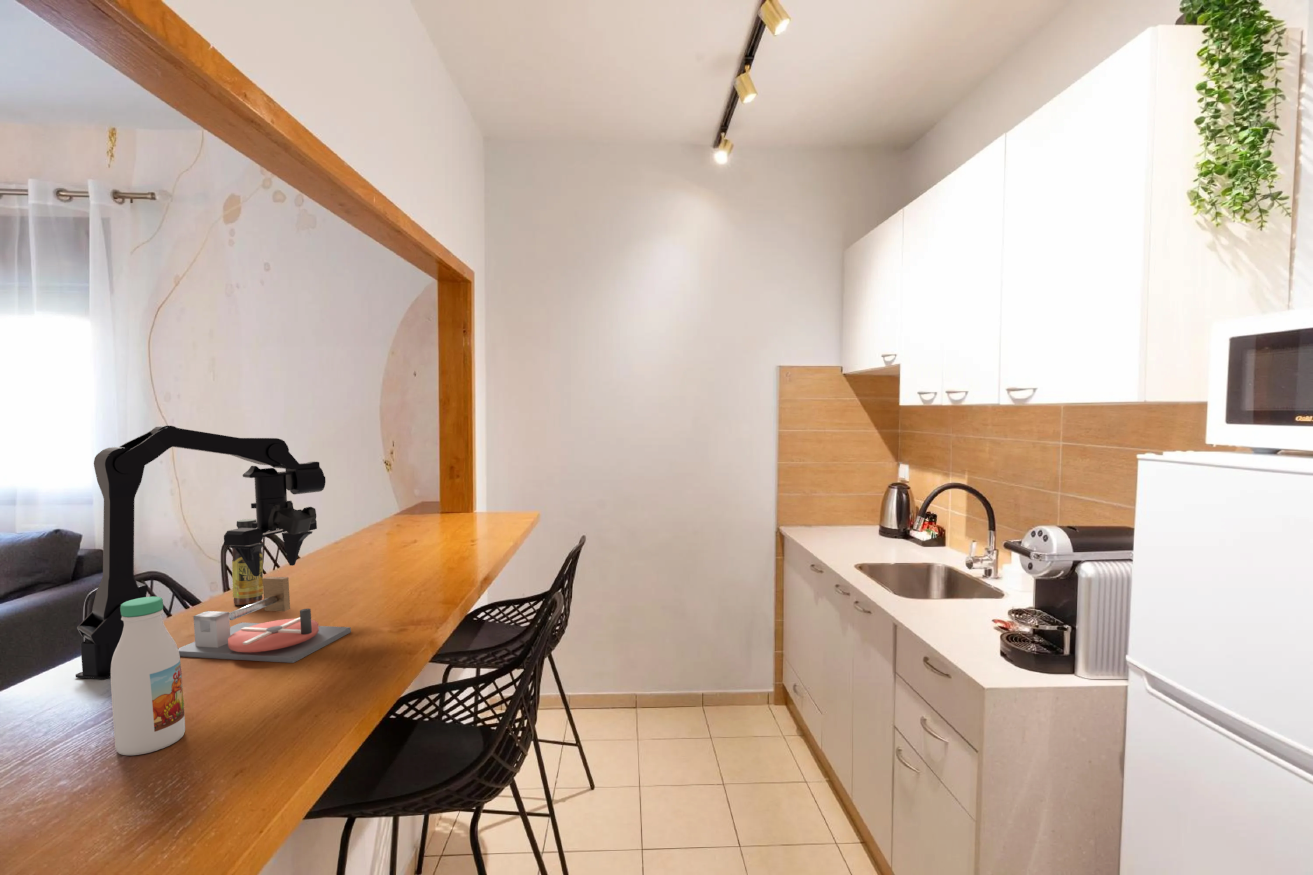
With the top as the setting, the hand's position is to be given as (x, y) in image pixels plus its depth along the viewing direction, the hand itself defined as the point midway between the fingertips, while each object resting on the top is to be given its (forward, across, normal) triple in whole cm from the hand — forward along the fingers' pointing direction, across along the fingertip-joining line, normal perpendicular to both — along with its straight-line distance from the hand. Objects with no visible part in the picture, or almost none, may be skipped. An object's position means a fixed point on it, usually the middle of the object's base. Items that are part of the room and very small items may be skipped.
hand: (274, 570), depth 140 cm
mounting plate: (+12, -10, -7) cm, 17 cm away
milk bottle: (+12, -44, -23) cm, 52 cm away
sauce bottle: (+12, +13, +21) cm, 27 cm away
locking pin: (+9, -3, +2) cm, 10 cm away
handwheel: (+10, -11, -11) cm, 18 cm away
